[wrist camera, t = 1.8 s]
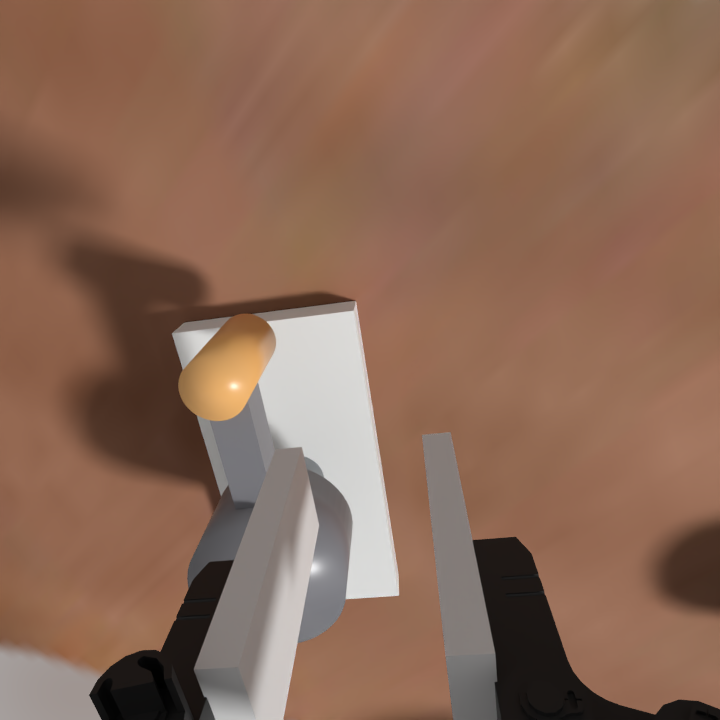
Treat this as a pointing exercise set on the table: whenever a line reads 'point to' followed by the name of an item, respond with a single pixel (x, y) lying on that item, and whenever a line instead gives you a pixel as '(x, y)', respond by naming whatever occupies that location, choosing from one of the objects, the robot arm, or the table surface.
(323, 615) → the orange knob joystick
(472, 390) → the table surface
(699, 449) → the table surface
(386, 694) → the table surface
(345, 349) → the post base
